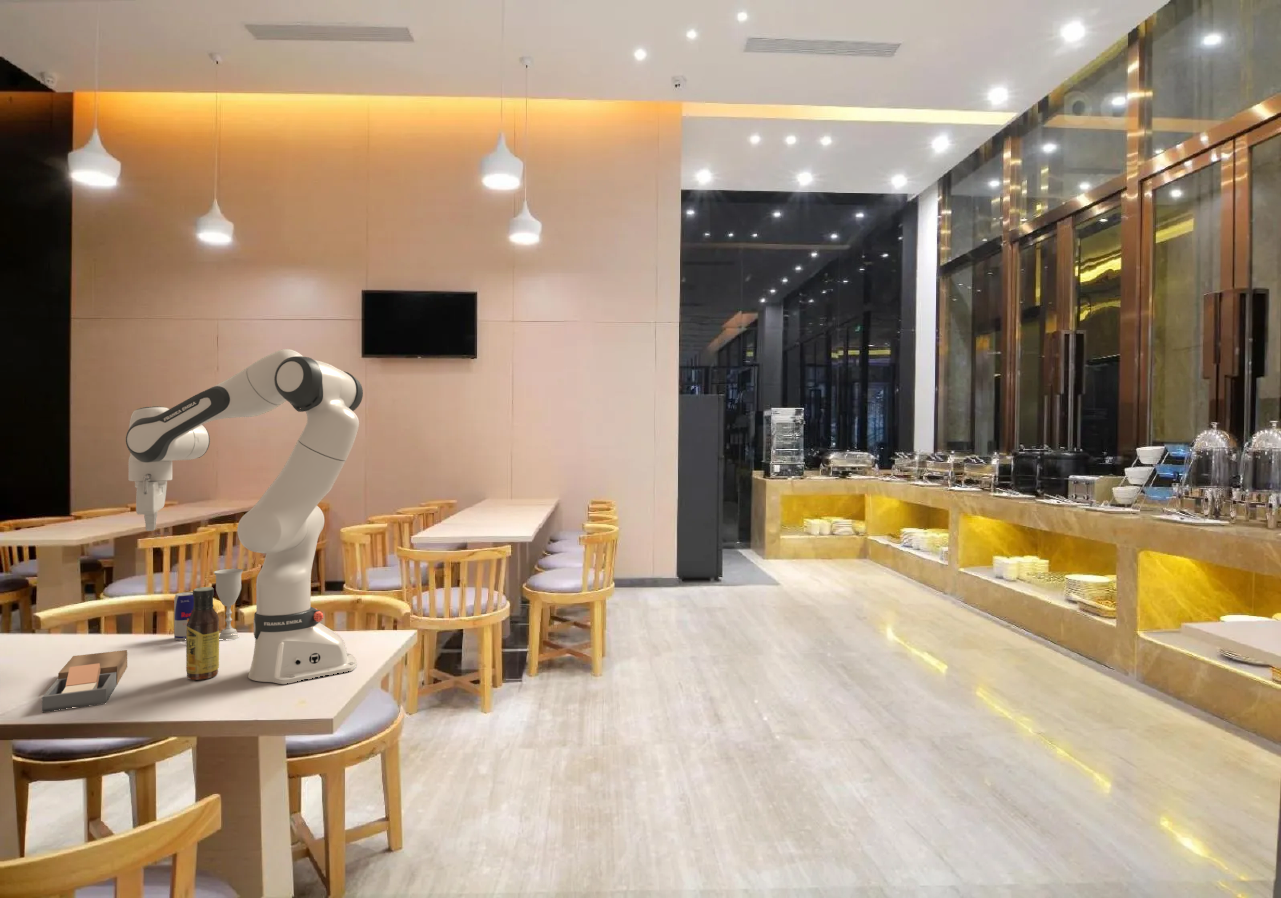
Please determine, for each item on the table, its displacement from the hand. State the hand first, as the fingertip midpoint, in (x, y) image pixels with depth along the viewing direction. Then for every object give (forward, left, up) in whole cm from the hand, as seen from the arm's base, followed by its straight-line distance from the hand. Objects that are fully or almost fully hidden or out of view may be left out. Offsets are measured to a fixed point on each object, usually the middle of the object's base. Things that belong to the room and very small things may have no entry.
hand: (150, 530), depth 173 cm
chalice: (-16, -12, -31) cm, 37 cm away
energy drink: (-6, -17, -31) cm, 36 cm away
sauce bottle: (-12, +23, -31) cm, 41 cm away
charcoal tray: (+9, +27, -31) cm, 42 cm away
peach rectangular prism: (+9, +23, -29) cm, 38 cm away
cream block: (+9, +28, -28) cm, 41 cm away
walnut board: (+9, +13, -31) cm, 35 cm away
